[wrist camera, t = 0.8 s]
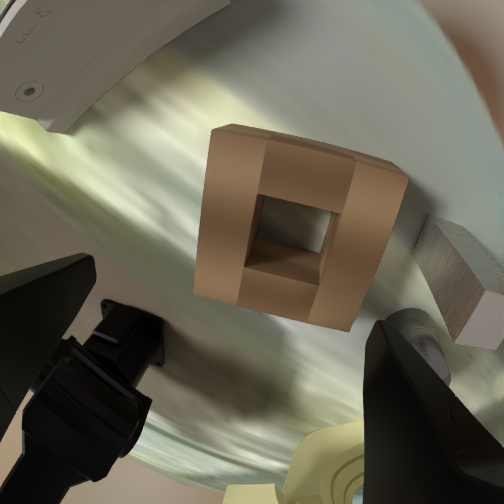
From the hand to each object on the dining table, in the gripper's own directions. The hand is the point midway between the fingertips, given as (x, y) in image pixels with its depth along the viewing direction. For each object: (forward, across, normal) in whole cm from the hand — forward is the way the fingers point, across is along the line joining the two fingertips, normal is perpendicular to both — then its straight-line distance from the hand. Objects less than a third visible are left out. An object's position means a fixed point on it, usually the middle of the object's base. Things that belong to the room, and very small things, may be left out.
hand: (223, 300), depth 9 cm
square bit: (+12, -12, +1) cm, 17 cm away
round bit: (+12, -12, +9) cm, 19 cm away
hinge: (+12, +13, -10) cm, 21 cm away
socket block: (+12, -2, +2) cm, 12 cm away
